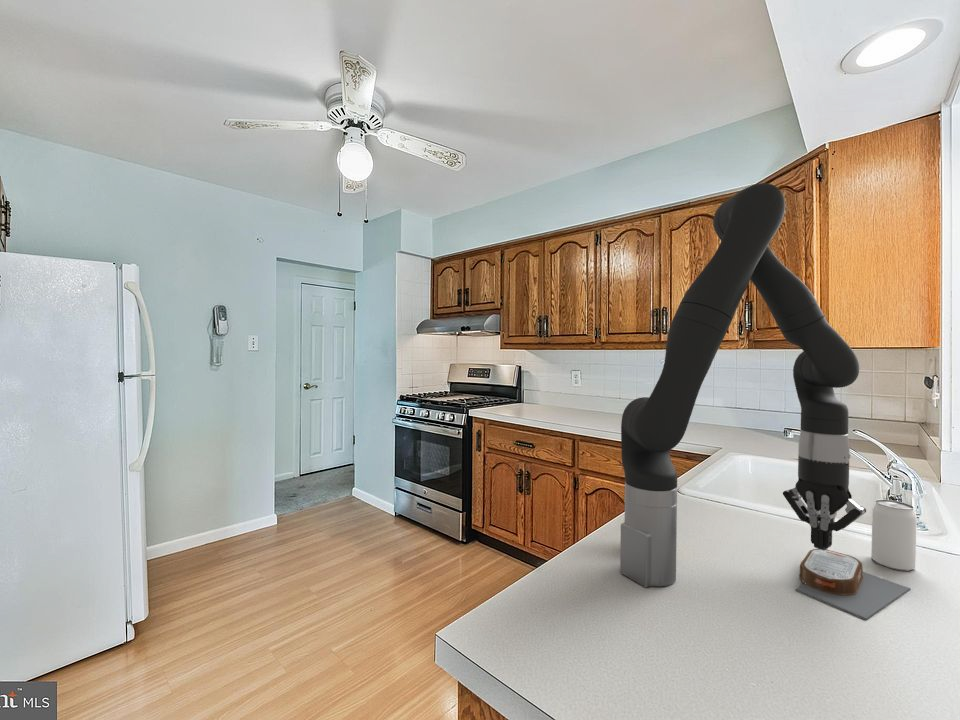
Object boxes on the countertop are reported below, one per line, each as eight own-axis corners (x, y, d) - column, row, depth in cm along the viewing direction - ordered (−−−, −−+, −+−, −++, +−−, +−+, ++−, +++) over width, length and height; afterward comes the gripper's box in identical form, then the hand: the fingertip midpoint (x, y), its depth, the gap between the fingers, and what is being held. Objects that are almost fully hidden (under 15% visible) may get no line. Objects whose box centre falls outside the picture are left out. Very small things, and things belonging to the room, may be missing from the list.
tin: (794, 582, 81) (854, 604, 75) (796, 565, 80) (856, 586, 74) (811, 556, 91) (865, 574, 85) (812, 541, 91) (867, 558, 85)
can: (906, 560, 90) (908, 501, 90) (922, 574, 84) (923, 511, 84) (866, 553, 93) (867, 496, 93) (878, 567, 87) (879, 506, 87)
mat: (866, 620, 70) (866, 618, 70) (795, 590, 79) (795, 588, 79) (910, 589, 79) (910, 588, 79) (842, 565, 88) (842, 564, 88)
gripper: (774, 451, 87) (772, 539, 87) (858, 466, 75) (856, 568, 76) (793, 446, 90) (792, 531, 91) (876, 461, 79) (874, 557, 79)
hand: (821, 548), depth 83 cm, fingers closed
